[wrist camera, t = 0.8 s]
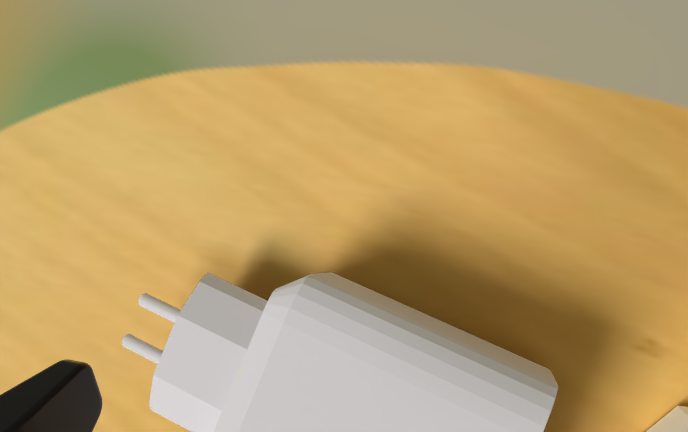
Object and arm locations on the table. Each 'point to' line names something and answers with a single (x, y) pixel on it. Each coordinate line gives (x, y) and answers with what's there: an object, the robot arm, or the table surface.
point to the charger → (333, 365)
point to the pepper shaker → (672, 421)
